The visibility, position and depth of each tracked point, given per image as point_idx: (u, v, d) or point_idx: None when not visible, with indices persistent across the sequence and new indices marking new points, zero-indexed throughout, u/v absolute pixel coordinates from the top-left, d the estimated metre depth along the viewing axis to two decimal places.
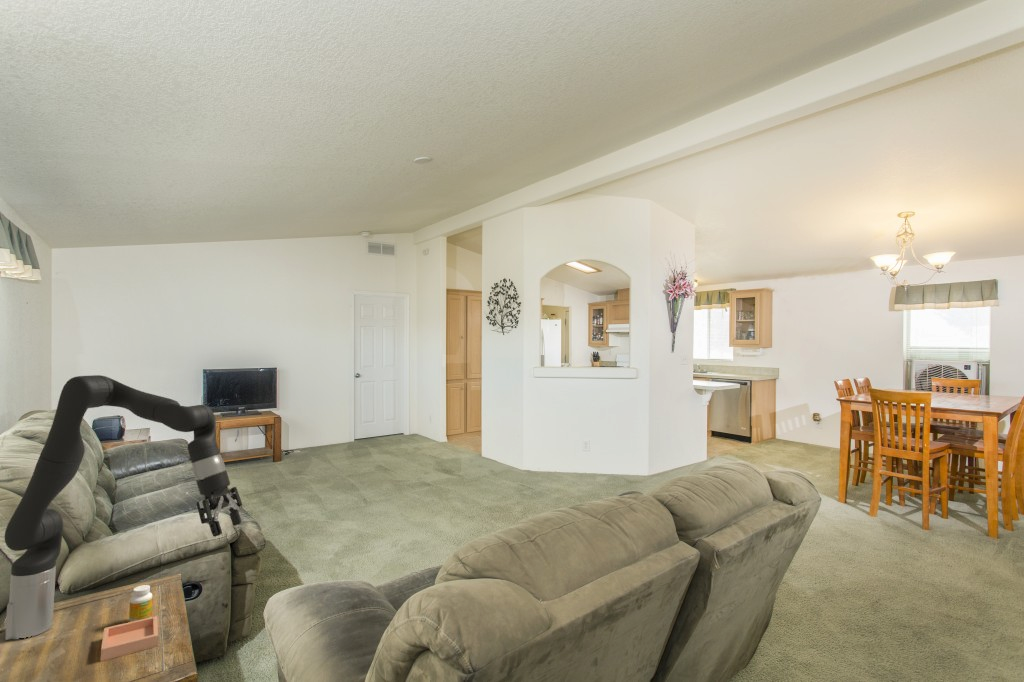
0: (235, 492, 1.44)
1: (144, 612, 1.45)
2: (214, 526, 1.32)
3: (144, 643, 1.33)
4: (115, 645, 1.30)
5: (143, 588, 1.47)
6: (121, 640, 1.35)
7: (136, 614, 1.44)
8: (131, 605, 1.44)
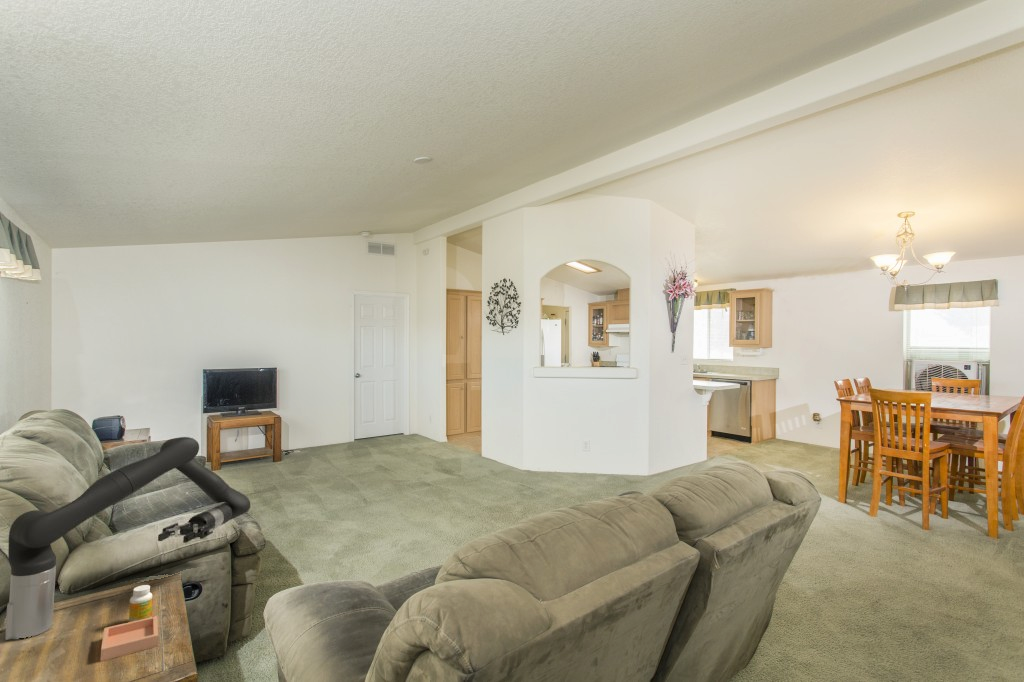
0: None
1: (144, 612, 1.45)
2: (193, 538, 1.61)
3: (144, 643, 1.33)
4: (115, 645, 1.30)
5: (143, 588, 1.47)
6: (121, 640, 1.35)
7: (136, 614, 1.44)
8: (131, 605, 1.44)
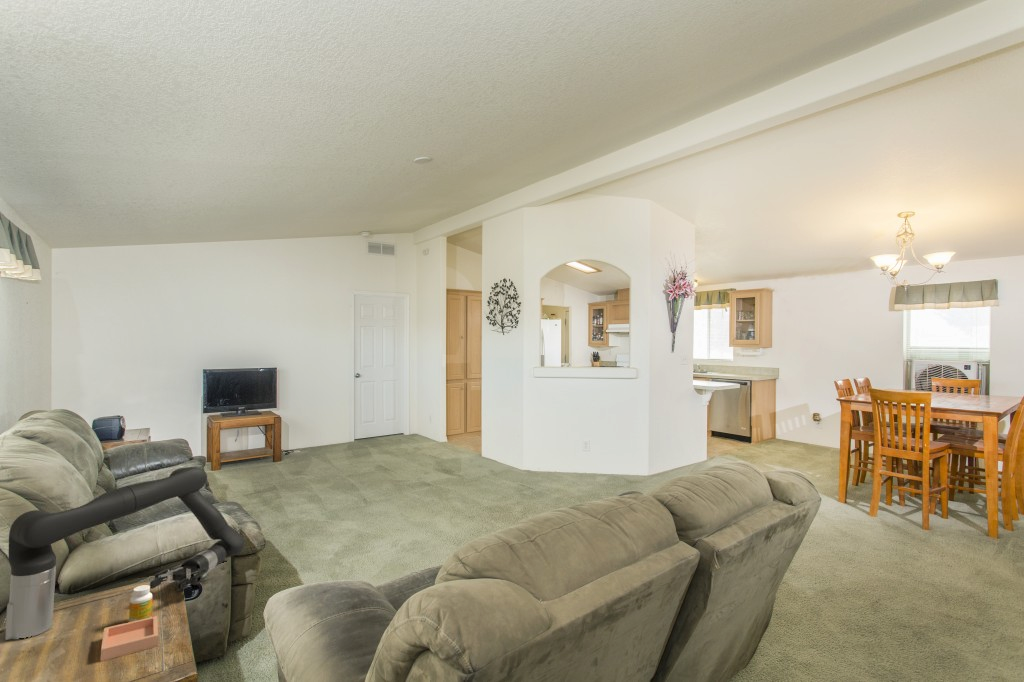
0: None
1: (144, 612, 1.45)
2: (185, 585, 1.58)
3: (144, 643, 1.33)
4: (115, 645, 1.30)
5: (143, 588, 1.47)
6: (121, 640, 1.35)
7: (136, 614, 1.44)
8: (131, 605, 1.44)
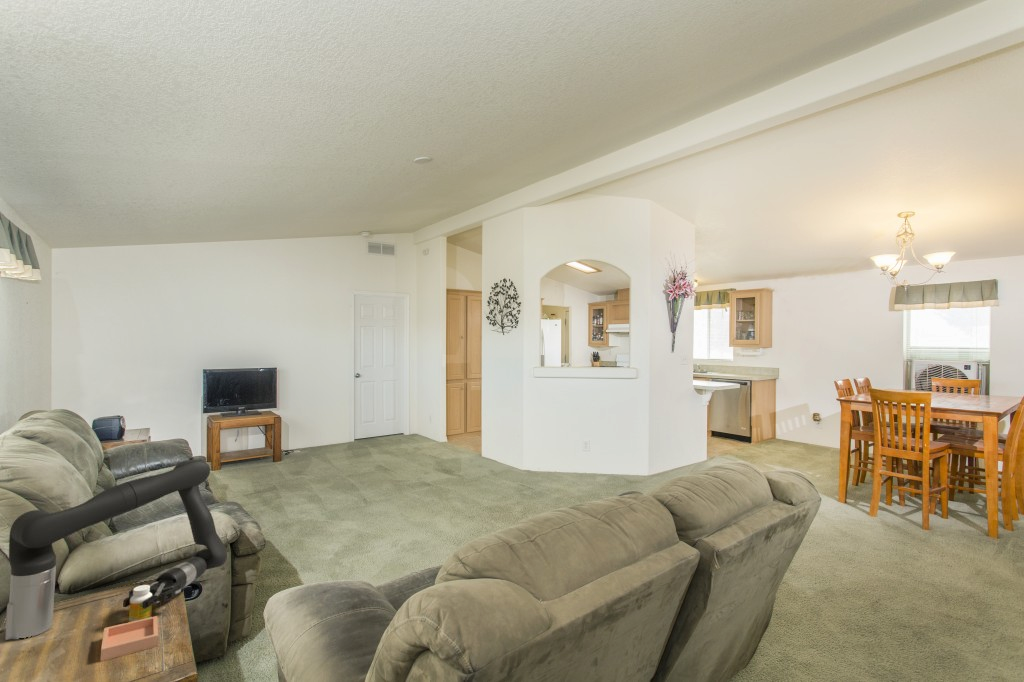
0: None
1: (144, 612, 1.45)
2: (153, 602, 1.47)
3: (144, 643, 1.33)
4: (115, 645, 1.30)
5: (143, 588, 1.47)
6: (121, 640, 1.35)
7: (136, 614, 1.44)
8: (131, 605, 1.44)
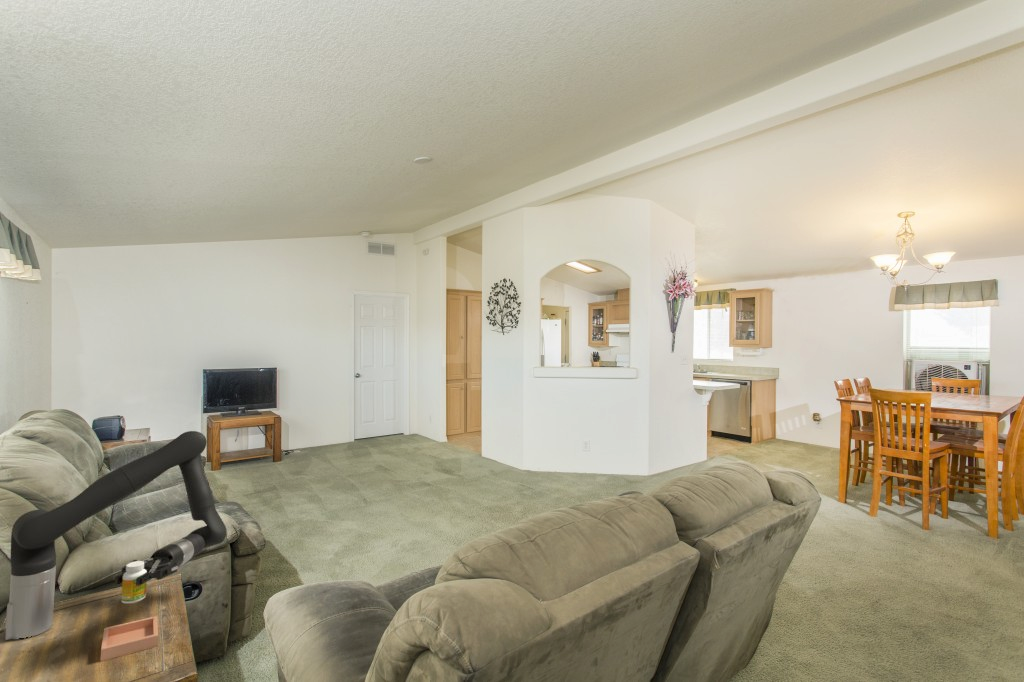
0: None
1: (138, 590, 1.35)
2: (148, 579, 1.36)
3: (144, 643, 1.33)
4: (115, 645, 1.30)
5: (137, 564, 1.36)
6: (121, 640, 1.35)
7: (129, 591, 1.34)
8: (124, 582, 1.34)
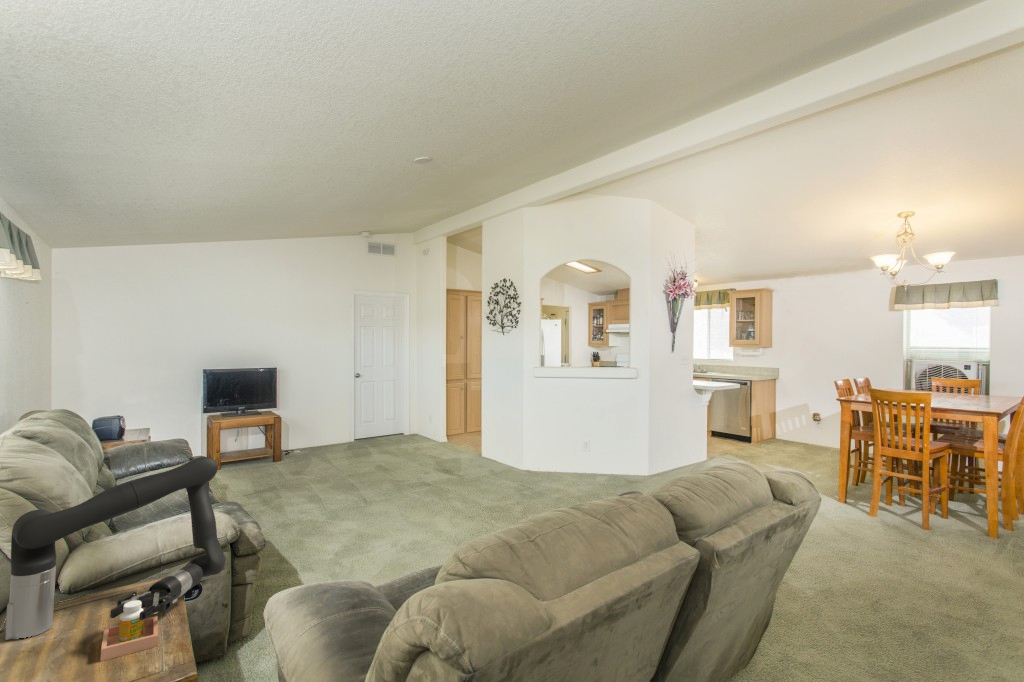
0: None
1: (135, 630, 1.35)
2: (151, 613, 1.36)
3: (144, 643, 1.33)
4: (115, 645, 1.30)
5: (134, 604, 1.36)
6: None
7: (126, 632, 1.34)
8: (121, 623, 1.34)
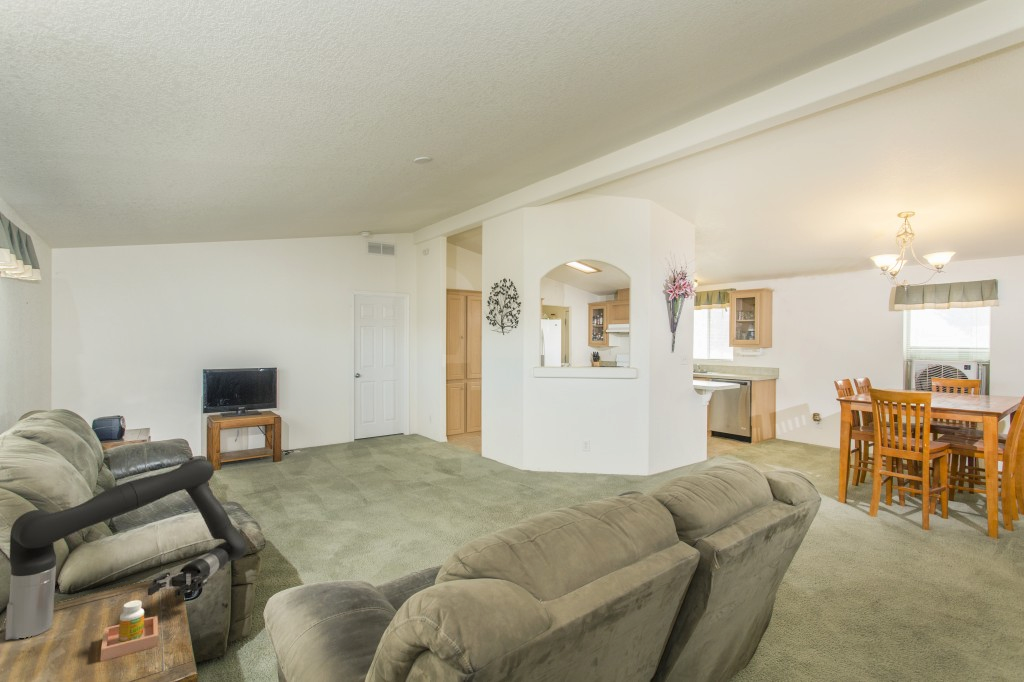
0: None
1: (135, 630, 1.35)
2: (185, 591, 1.49)
3: (144, 643, 1.33)
4: (115, 645, 1.30)
5: (134, 604, 1.36)
6: None
7: (126, 632, 1.34)
8: (121, 623, 1.34)
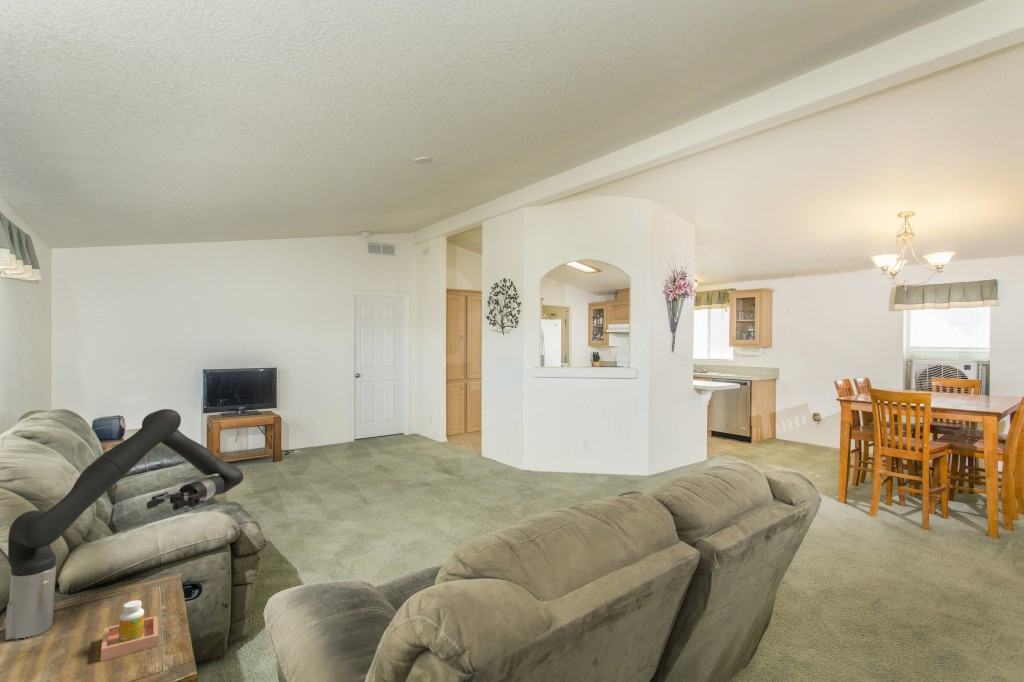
0: None
1: (135, 630, 1.35)
2: (183, 506, 1.56)
3: (144, 643, 1.33)
4: (115, 645, 1.30)
5: (134, 604, 1.36)
6: None
7: (126, 632, 1.34)
8: (121, 622, 1.34)
